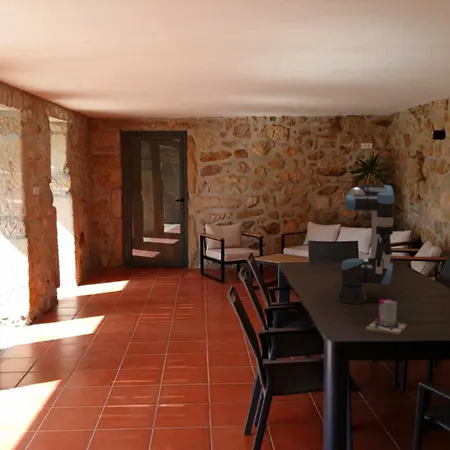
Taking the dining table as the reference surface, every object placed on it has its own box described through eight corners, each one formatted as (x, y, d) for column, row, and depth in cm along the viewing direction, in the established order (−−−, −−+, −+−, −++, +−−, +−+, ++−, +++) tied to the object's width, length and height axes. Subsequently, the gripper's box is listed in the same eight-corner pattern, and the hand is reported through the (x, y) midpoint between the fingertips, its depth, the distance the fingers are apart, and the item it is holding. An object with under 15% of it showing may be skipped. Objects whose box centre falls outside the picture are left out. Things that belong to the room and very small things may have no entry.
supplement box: (396, 326, 242) (397, 301, 241) (384, 327, 240) (385, 302, 239) (388, 323, 247) (389, 298, 246) (377, 324, 246) (378, 299, 244)
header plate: (376, 321, 254) (376, 314, 254) (406, 326, 247) (406, 318, 246) (366, 329, 240) (366, 322, 240) (398, 334, 233) (398, 326, 233)
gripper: (383, 222, 262) (381, 265, 265) (368, 228, 241) (367, 274, 243) (399, 223, 258) (397, 266, 261) (385, 229, 237) (383, 276, 240)
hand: (382, 270), depth 252 cm, fingers open, 13 cm apart
